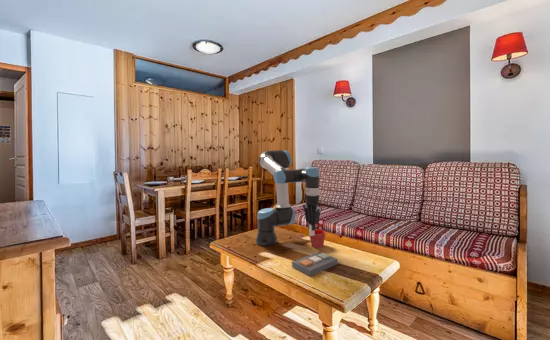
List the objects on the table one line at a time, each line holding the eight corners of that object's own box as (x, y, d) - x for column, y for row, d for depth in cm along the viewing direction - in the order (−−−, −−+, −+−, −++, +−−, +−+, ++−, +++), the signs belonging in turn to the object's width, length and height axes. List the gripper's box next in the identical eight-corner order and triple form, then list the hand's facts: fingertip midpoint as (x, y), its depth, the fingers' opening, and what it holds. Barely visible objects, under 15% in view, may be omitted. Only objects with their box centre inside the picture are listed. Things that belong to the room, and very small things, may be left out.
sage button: (317, 259, 152) (317, 254, 151) (323, 257, 155) (323, 252, 154) (323, 262, 147) (323, 257, 147) (330, 260, 151) (330, 255, 150)
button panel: (292, 266, 146) (292, 261, 146) (319, 256, 159) (319, 251, 159) (310, 276, 135) (310, 270, 134) (337, 264, 148) (337, 258, 148)
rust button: (299, 266, 143) (299, 261, 143) (306, 264, 146) (306, 259, 146) (306, 270, 139) (305, 264, 139) (312, 267, 142) (312, 262, 142)
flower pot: (307, 243, 181) (307, 229, 181) (323, 242, 182) (323, 228, 182) (311, 249, 171) (310, 234, 170) (327, 248, 172) (327, 233, 171)
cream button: (308, 263, 147) (308, 258, 147) (314, 260, 150) (314, 255, 150) (315, 266, 143) (315, 261, 143) (321, 263, 146) (321, 258, 146)
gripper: (299, 193, 150) (299, 233, 153) (316, 197, 140) (315, 240, 143) (308, 192, 155) (308, 230, 157) (325, 195, 145) (324, 236, 147)
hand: (311, 235), depth 150 cm, fingers closed
